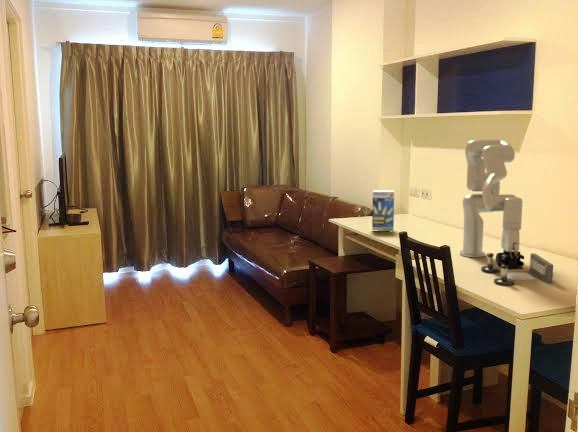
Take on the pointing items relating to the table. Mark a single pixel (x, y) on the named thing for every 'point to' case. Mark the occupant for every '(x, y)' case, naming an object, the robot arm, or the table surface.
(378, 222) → the string lights box
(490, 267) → the post left
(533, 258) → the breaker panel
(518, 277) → the view mat
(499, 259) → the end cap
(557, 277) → the table surface
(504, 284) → the post right
